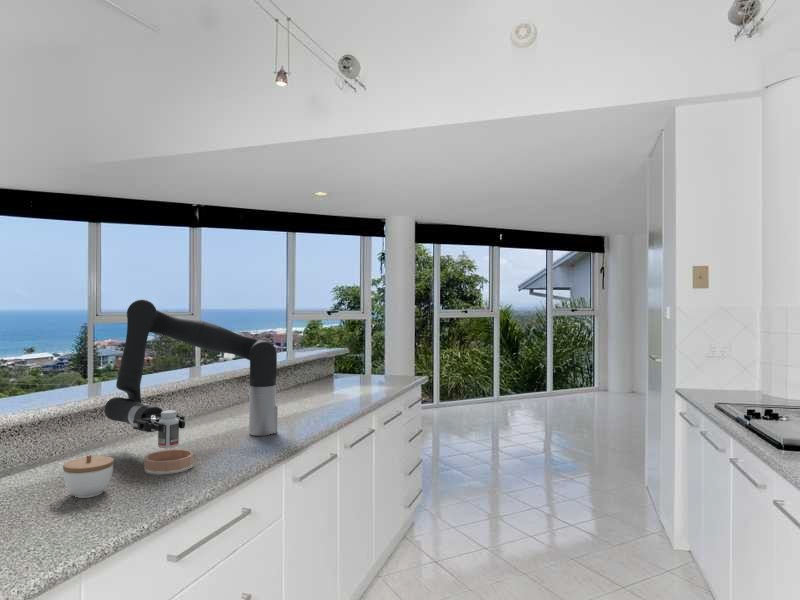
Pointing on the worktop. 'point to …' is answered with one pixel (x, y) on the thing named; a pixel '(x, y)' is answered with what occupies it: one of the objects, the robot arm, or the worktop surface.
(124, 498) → the worktop surface
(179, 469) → the bowl
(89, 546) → the worktop surface
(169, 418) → the pill bottle
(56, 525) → the worktop surface
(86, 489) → the lidded jar
